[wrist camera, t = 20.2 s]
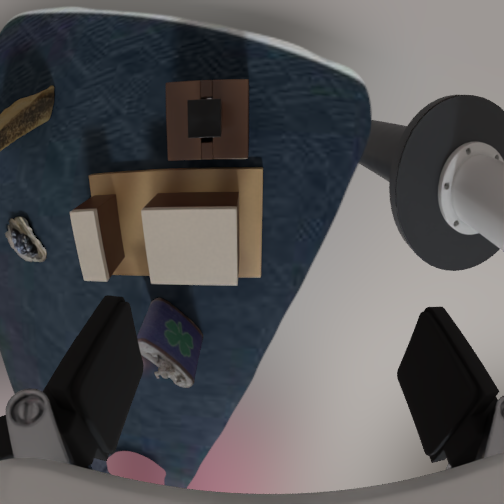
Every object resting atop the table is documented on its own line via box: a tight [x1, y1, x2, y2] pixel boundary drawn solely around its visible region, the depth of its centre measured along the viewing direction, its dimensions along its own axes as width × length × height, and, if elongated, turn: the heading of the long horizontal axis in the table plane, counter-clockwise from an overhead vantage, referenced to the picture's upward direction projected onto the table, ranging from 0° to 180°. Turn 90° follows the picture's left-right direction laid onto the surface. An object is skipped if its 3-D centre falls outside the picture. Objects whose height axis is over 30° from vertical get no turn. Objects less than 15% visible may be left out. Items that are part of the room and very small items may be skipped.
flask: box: [137, 298, 203, 388], centre depth 38 cm, size 9×3×11 cm, turn 38°
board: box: [89, 167, 263, 277], centre depth 36 cm, size 20×13×1 cm, turn 90°
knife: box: [187, 98, 222, 138], centre depth 24 cm, size 2×3×14 cm, turn 179°
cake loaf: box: [141, 192, 240, 286], centre depth 33 cm, size 9×8×6 cm
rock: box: [0, 86, 54, 151], centre depth 27 cm, size 11×9×10 cm
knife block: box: [166, 79, 249, 161], centre depth 28 cm, size 7×7×7 cm
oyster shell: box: [5, 217, 47, 262], centre depth 37 cm, size 7×8×2 cm
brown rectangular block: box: [70, 194, 125, 282], centre depth 33 cm, size 3×8×6 cm, turn 179°
